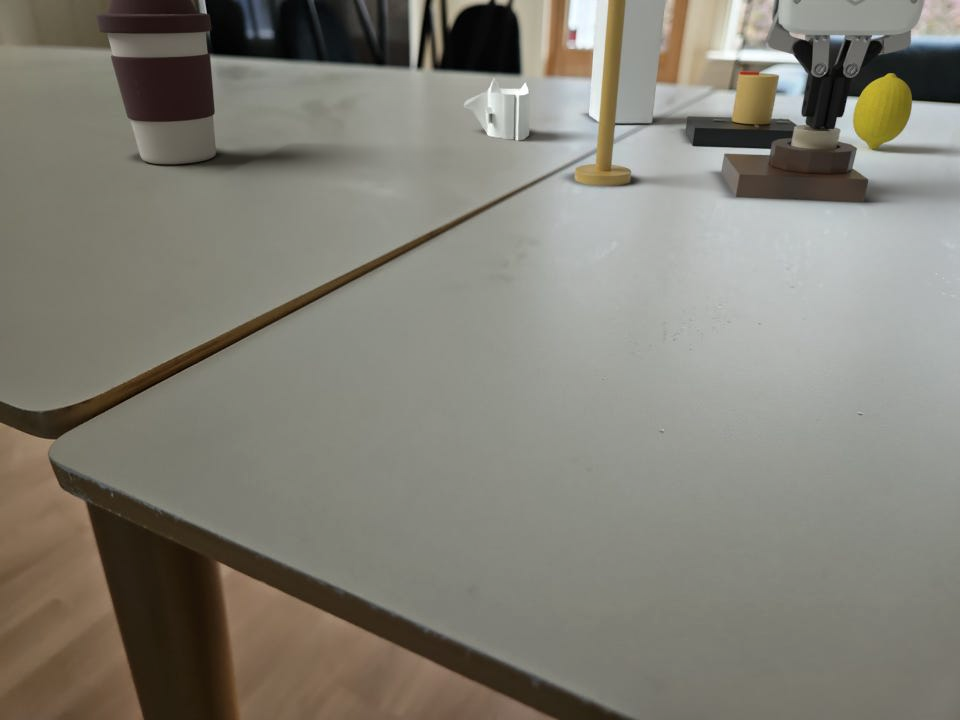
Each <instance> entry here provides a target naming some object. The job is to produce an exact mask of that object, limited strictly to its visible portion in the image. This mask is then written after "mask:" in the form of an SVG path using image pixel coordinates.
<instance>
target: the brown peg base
mask: <svg viewBox="0 0 960 720" xmlns="http://www.w3.org/2000/svg"><path fill="white" fill-rule="evenodd" d="M791 142H792V138H787V139H778V140H775V141H773V142H772V145H771V149H770V152H769V154H752V153H751V154H749V153H724V154H723V157H722V158H723V160H722V165H721V171H720V175H721V176H722V178H723V179H724V181H725V182H726V183H727V186H728V188H729V189H730V190H731V192H732V194H733V195H734V197H735V198H748V199H749V198H751V199H772V200H795V201H796V200H797V201H817V202H838V203H839V202H841V203H862V204H863V203H864V201H865V197H866V193H867V189H868V184H869V178H867V177H866V176H865V175H863V174H862V173H860V172H858V171H857V170H856V169H854V163H855V160H856V155H857V151H858V148H857V146H855V145H853V144H851V143H847V142H844V141H843V142H842V141H838V144H837V149H829V150H824V149H808V148H800V147H795V146H791Z"/></svg>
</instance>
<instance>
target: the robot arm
mask: <svg viewBox="0 0 960 720" xmlns="http://www.w3.org/2000/svg"><path fill="white" fill-rule="evenodd" d="M924 5H925V0H773V5H772V15H771V20H772V23H771V24H770V25H771V26H770V28H769V31H768V33H767V35H766V38H765V46H766V47H768V48H769V49H771V50H776V51H779V52H783V53H787V54H790V55H793V57H794V58H795V59H796V60H797V61H798V63H799V64H800V65H801V67H802V68H803V70H804V72H805V73H806V74H807V78H806V83H805V88H804V96H803V100H802V105H801V111H800V112H801V113H800V114H801V116H802V117H803V118H805V125H808V126H810V127H811V128H813V129H820V128H821V127H824V128H826V129H834V128H836V125H837V119H838V118H843V117H844V114H845V110H846V106H847V101H848V97H849V91H850V87H851V82H852V78H854V77H856V76H857V75H858V74H859V72H860V70H862V69H863V68H864V67H865V66H867V65H868V64H869V63H870V62H871V61H873V60H874V59H875V58H876V57H878V56H881V55H887V54H890V53H891V54H892V53H895V52H899V51H904V50H907V49H908V48H909V47H910V46H911V44H912V43H911V42H912V30H913V29H915V27H916V26H917V25H918V23H919V21H920V19H921V15H922V12H923V8H924ZM790 33H792V34H796V35H804V39H803V38H799V37H795V36H792V35H791V34H790ZM831 36H844V37H843V40H842V43H841V46H840V48H839V50H838V51H839V52H838V54H837V58H836V60H835V62H834V65H833V66H832V67H831V69H830V67H829V59H830V39H831ZM873 36H879V37H874V38H872V37H873Z"/></svg>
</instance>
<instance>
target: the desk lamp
mask: <svg viewBox="0 0 960 720" xmlns="http://www.w3.org/2000/svg"><path fill="white" fill-rule="evenodd" d="M625 4H626V0H608V12H607V25H606V38H605V51H604V64H603V77H602V90H601V103H600V116H599V122H598V130H597V142H596V155H595V156H596V157H595V163H591V164H589V163H588V164H583V165H578V166H576V168H575V169H574V180H575V181H576V182H578V183H581V184H584V185H590V186H598V187H599V186H600V187H601V186H602V187H612V186H613V187H616V186H622V185H623V186H624V185H627V184H629V183H631V179H632V170H631V169H630V168H628V167H625V166H622V165H616V164H613V153H614V152H613V150H614V139H615V131H616V123H615V119H616V107H617V96H618V84H619V73H620V61H621V50H622V38H623V27H624V15H625Z"/></svg>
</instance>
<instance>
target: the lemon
mask: <svg viewBox="0 0 960 720" xmlns="http://www.w3.org/2000/svg"><path fill="white" fill-rule="evenodd" d="M912 107H913V96H912V91H911V88H910V87H909V85H908V84H907V83H906V82H905V81H904V80H902V79H901V78H899V77H898V76H897V75H896V74H895V73H893V72H890V73H887V74H886V75H884V76H882V77H879V78H877V79H875V80H873V81H871V82H870V83H869V84H868V85H867V86H866V87H865V88H863V90H862V92H861V93H860V95H859V97H858V98H857V101H856V104H855V107H854V110H853V116H852V126H853V129H854V132H855V134H856V136H857V137H858V138H859V139H860V140H862V141H863V142H865V143H866V145H867V146H868V148H869V149H871V150H875V149H878V148H879V147H881V146H882V145H883V144H885V143H889V142H891V141H893V140H894V139H896V138H897V137H898V136H899V135H900V134H901V133H902V132H903V131H904V130H905V128H906V126H907V125H908V122H909V120H910V117H911V114H912V113H911V112H912Z"/></svg>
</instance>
